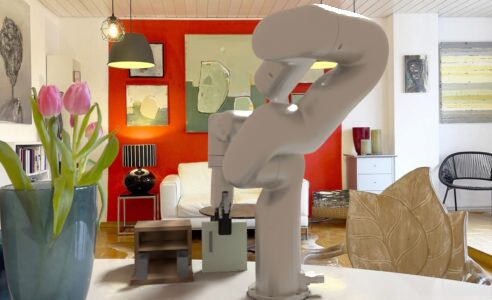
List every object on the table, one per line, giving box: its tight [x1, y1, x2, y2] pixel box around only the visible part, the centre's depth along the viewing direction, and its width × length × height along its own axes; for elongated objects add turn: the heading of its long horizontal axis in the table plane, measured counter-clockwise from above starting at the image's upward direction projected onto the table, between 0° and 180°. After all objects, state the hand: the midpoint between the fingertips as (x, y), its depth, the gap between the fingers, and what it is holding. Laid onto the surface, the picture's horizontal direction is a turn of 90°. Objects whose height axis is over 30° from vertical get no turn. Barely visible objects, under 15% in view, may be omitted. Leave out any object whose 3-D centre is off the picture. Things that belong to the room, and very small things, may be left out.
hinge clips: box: [136, 251, 188, 280], centre depth 97 cm, size 11×6×4 cm, turn 100°
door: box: [201, 219, 248, 274], centre depth 103 cm, size 11×3×12 cm, turn 100°
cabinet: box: [129, 218, 195, 286], centre depth 103 cm, size 14×20×11 cm
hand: (222, 230), depth 104 cm, fingers open, 9 cm apart
